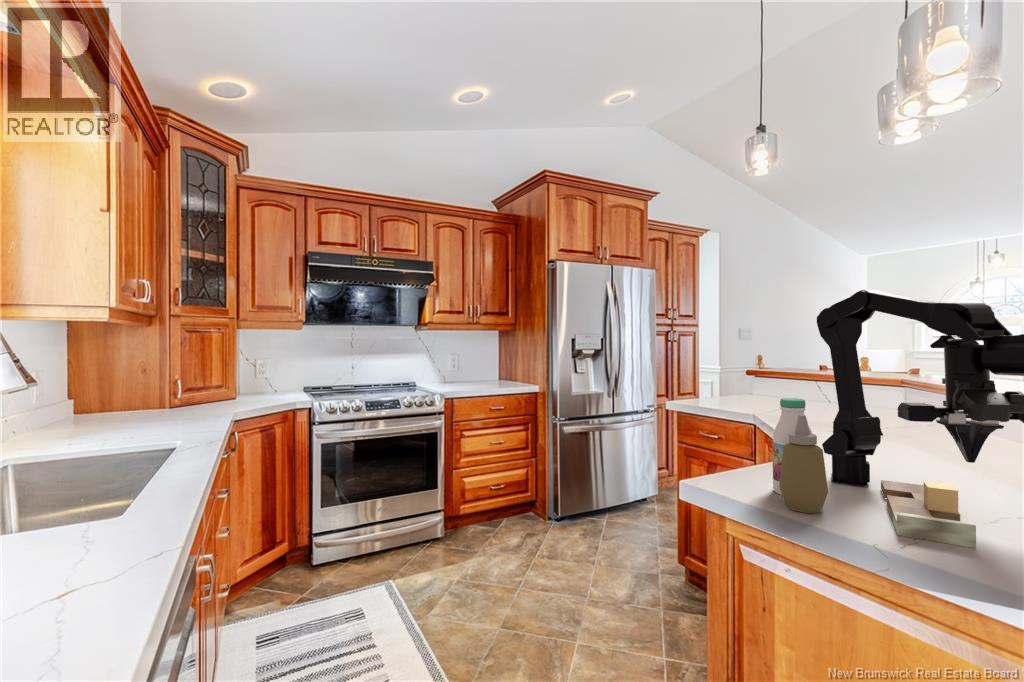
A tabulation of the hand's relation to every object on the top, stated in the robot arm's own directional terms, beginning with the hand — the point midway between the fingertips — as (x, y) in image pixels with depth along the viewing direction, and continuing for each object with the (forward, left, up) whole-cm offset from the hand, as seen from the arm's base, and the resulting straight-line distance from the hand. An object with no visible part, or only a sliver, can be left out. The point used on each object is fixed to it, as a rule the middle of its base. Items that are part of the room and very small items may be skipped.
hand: (970, 462), depth 83 cm
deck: (-7, 0, -11) cm, 12 cm away
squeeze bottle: (-25, -7, -11) cm, 28 cm away
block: (-4, -1, -9) cm, 10 cm away
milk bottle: (-27, +2, -11) cm, 29 cm away
